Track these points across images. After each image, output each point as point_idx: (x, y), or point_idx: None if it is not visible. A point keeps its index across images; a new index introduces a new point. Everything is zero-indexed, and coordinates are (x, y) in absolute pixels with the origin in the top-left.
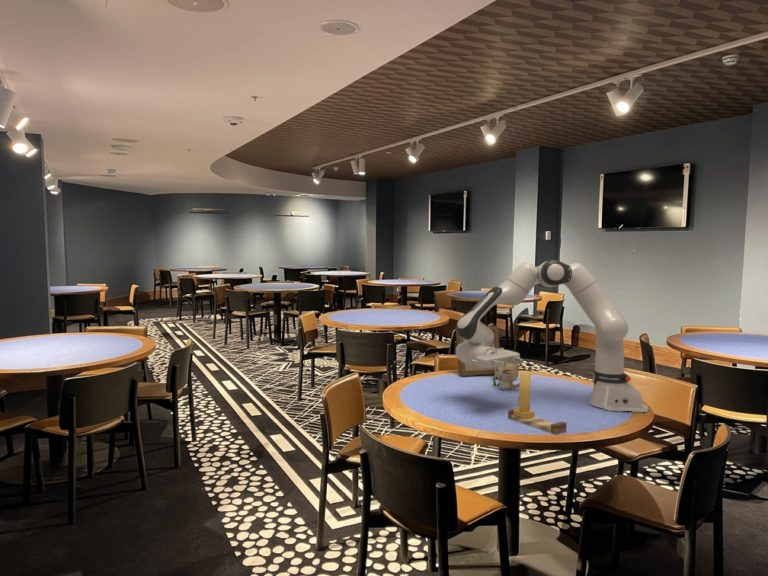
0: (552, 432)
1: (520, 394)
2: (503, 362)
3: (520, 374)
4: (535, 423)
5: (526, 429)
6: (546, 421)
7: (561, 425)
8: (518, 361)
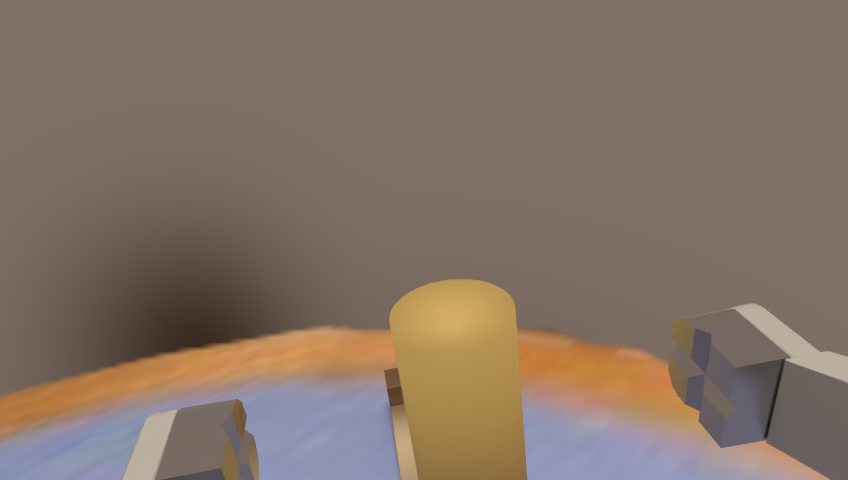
0: None
1: (526, 476)
2: (735, 308)
3: (515, 314)
4: None
5: (583, 471)
6: (414, 474)
7: None
8: (237, 467)
